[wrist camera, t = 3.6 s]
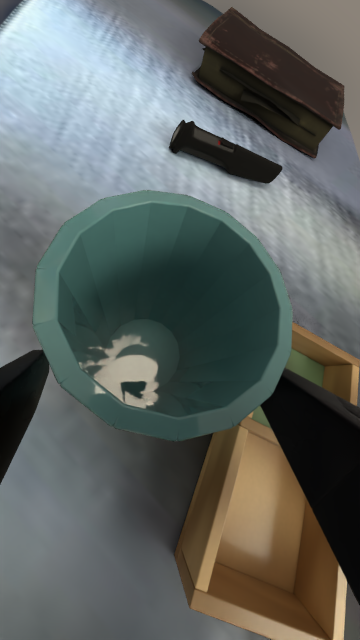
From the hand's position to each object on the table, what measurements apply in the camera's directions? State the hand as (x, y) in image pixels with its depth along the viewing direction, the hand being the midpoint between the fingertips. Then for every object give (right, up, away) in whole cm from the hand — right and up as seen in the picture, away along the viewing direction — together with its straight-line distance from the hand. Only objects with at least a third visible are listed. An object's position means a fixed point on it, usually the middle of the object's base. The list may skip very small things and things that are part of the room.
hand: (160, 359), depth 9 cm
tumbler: (-2, -1, +9) cm, 9 cm away
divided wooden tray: (+9, -9, +9) cm, 16 cm away
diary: (+17, +43, +29) cm, 54 cm away
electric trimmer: (+7, +24, +20) cm, 32 cm away
